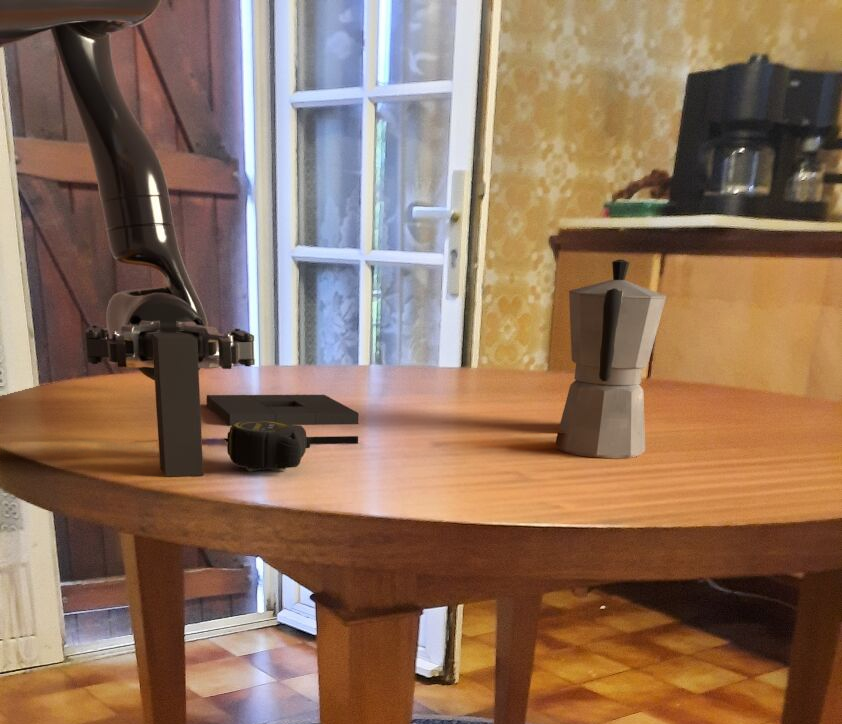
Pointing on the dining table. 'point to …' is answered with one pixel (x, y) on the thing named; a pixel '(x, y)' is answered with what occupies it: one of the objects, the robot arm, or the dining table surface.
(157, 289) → the robot arm
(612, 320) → the coffeepot
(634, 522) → the dining table surface
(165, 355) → the bar
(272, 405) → the base pad
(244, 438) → the tape measure
